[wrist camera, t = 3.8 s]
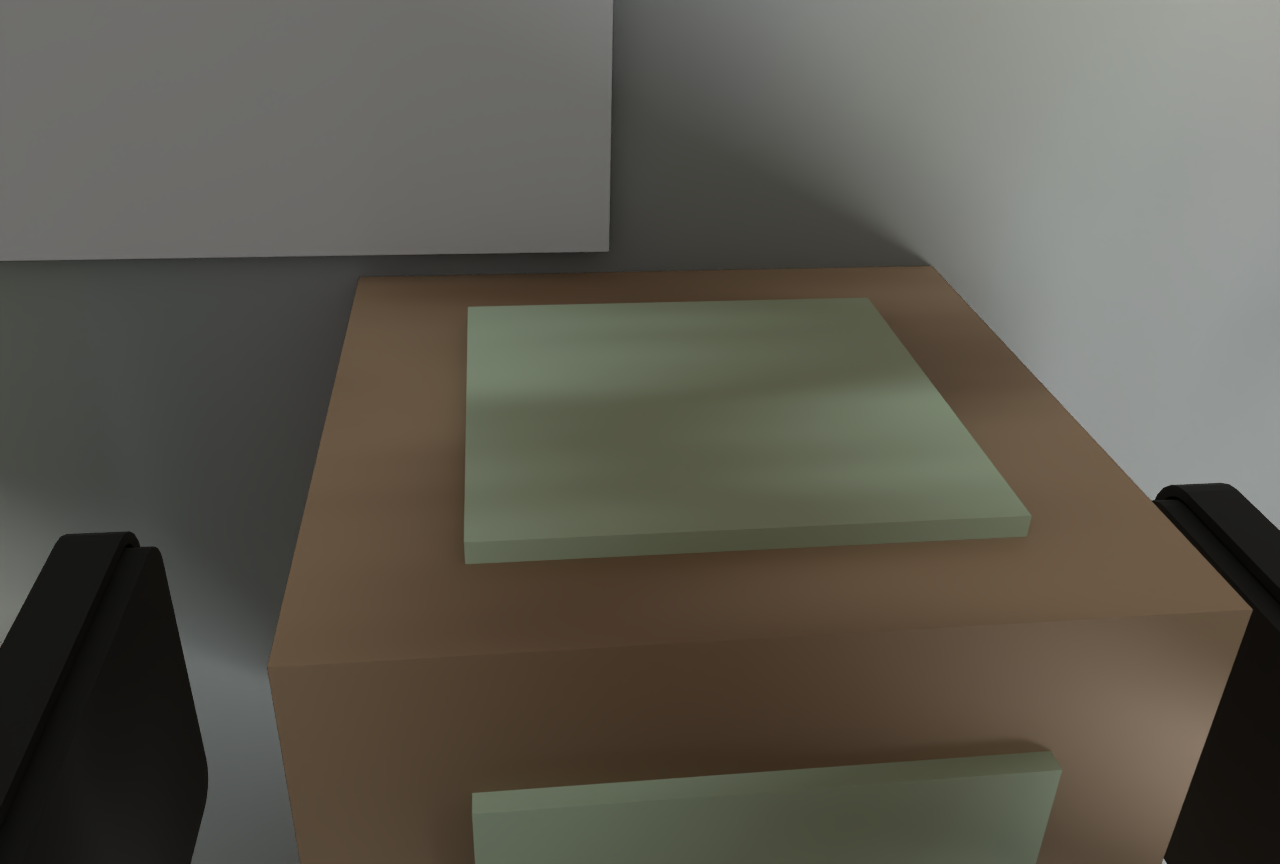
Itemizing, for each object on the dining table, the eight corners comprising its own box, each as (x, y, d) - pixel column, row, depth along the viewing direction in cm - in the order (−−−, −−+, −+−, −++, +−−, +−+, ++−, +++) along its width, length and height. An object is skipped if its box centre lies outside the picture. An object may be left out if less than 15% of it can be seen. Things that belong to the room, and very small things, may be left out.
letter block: (931, 247, 12) (1277, 604, 7) (861, 689, 15) (1065, 1172, 10) (358, 258, 12) (259, 662, 6) (402, 718, 15) (359, 1255, 9)
